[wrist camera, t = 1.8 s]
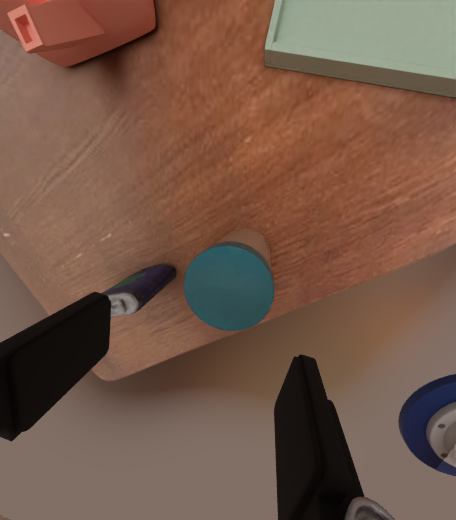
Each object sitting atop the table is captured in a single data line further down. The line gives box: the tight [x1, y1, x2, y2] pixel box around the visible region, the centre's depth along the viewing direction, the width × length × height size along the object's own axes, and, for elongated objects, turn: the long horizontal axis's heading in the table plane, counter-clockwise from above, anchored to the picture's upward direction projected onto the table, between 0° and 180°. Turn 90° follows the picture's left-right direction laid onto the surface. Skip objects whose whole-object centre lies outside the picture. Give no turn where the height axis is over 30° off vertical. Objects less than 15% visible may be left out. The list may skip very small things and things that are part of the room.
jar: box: [213, 228, 272, 270], centre depth 21 cm, size 7×7×11 cm
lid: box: [184, 241, 274, 331], centre depth 17 cm, size 7×7×2 cm
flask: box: [101, 264, 177, 317], centre depth 25 cm, size 9×3×11 cm, turn 113°
